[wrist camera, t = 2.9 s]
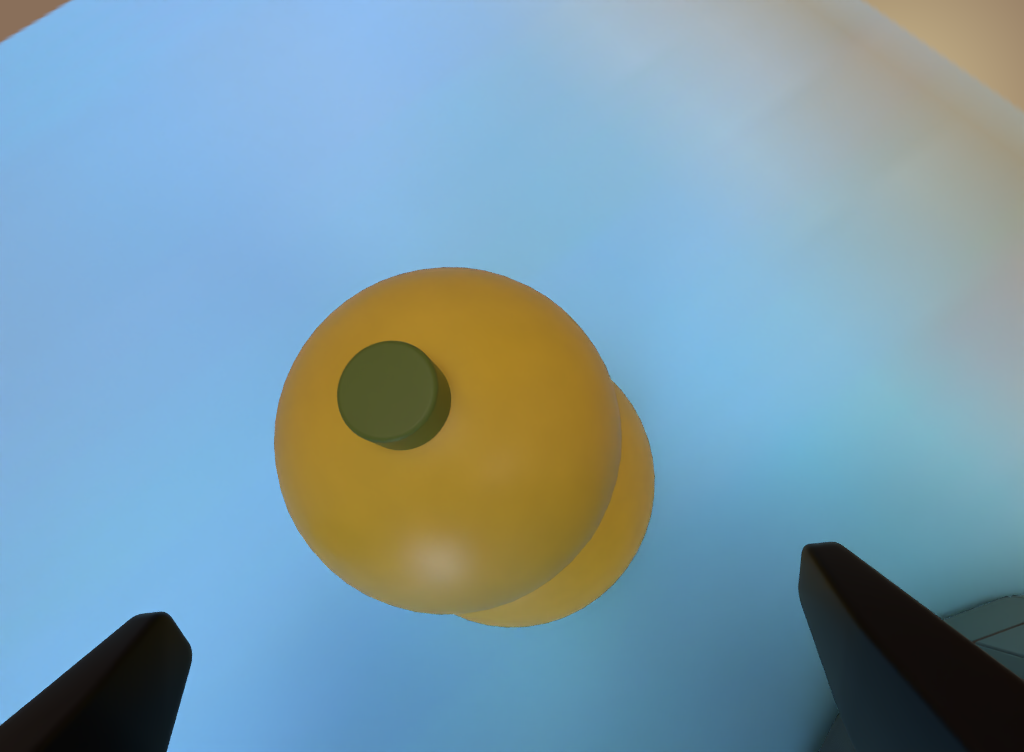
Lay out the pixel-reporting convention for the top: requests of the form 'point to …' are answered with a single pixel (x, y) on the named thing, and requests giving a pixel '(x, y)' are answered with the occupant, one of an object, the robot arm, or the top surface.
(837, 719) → the black metal bowl
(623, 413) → the squash
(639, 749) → the top surface
